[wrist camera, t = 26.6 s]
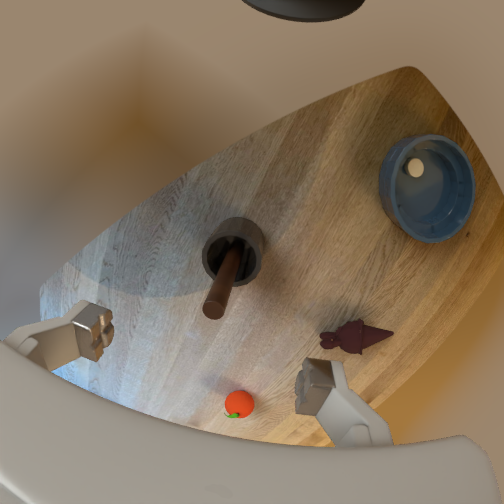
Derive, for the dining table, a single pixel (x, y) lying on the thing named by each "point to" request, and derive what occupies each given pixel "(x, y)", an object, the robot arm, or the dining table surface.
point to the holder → (221, 243)
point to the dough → (413, 167)
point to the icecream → (353, 337)
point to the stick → (223, 282)
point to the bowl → (428, 187)
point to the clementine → (239, 404)
